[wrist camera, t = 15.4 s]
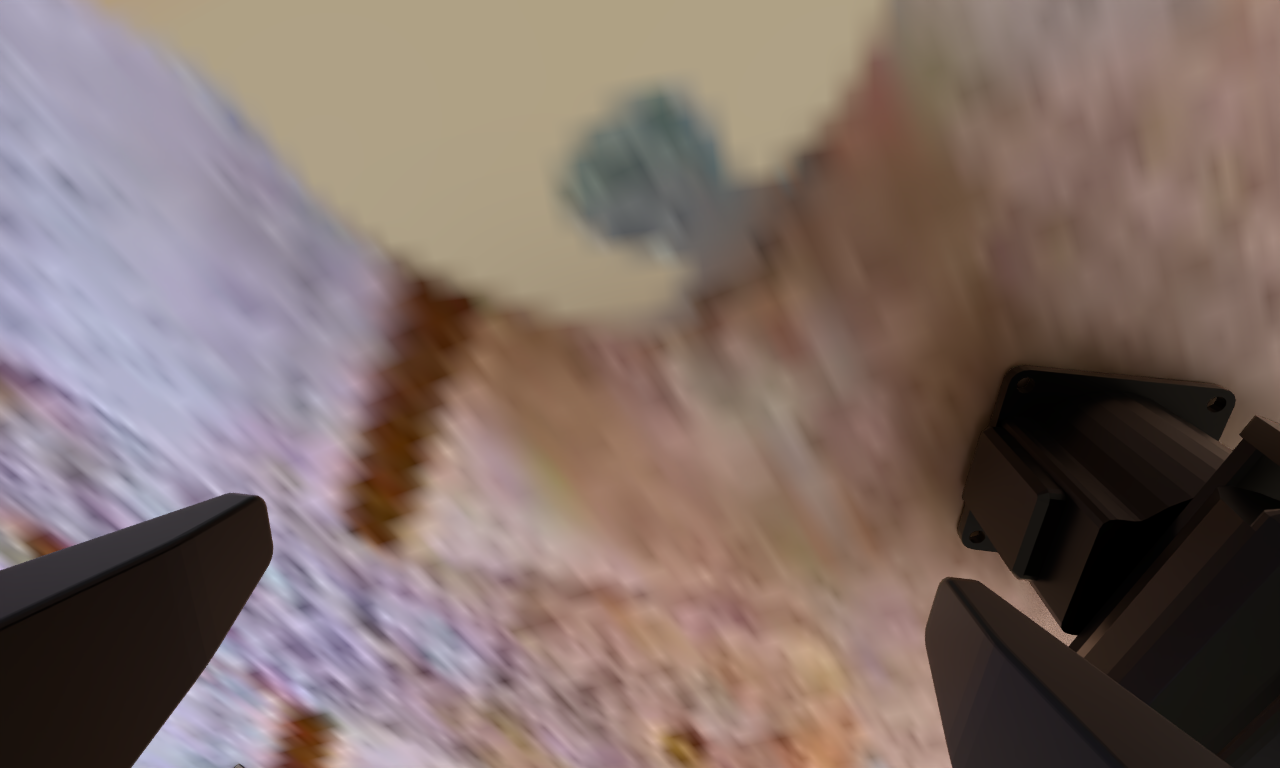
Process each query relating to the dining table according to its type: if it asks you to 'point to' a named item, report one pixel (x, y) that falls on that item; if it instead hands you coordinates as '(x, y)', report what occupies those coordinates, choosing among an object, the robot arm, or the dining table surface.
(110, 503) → the dining table surface
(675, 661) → the dining table surface
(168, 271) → the dining table surface
